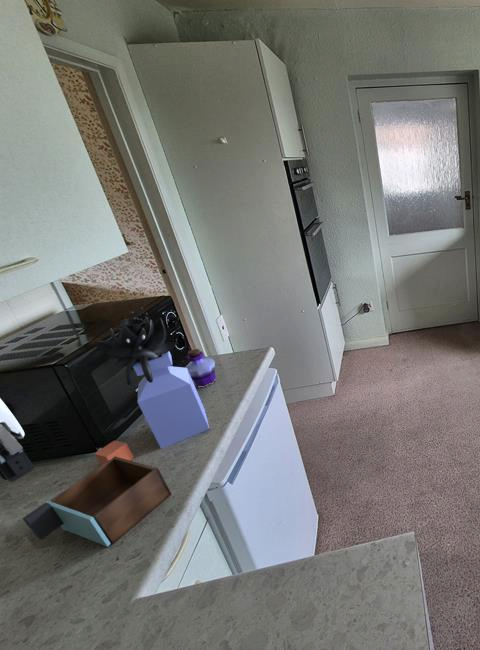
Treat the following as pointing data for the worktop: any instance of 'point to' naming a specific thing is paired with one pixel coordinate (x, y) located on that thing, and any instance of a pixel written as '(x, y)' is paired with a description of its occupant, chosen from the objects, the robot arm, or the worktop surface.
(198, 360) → the potion bottle
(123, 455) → the block
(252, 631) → the worktop surface
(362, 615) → the worktop surface
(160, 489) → the crate
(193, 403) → the vase
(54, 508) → the light blue flat panel
